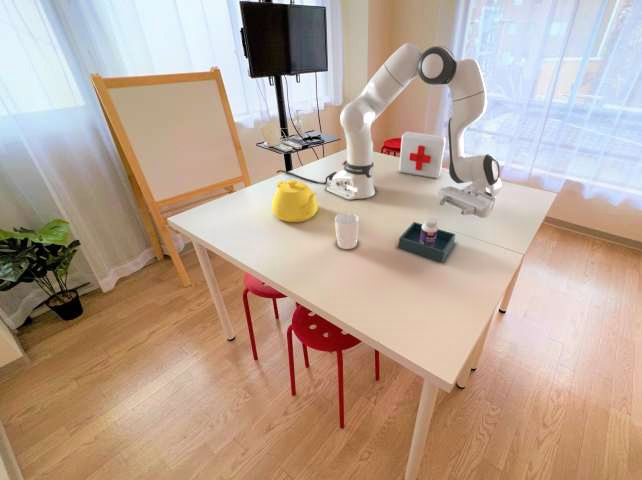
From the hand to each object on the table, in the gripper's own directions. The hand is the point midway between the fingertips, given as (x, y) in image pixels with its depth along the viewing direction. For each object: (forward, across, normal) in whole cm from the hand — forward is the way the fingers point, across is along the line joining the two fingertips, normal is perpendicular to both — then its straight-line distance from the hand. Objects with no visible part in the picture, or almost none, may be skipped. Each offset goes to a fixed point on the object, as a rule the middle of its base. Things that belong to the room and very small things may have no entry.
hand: (451, 207), depth 106 cm
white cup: (+32, -19, +11) cm, 38 cm away
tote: (+12, 0, +11) cm, 16 cm away
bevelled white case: (-37, -43, +11) cm, 58 cm away
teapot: (+33, -48, +11) cm, 59 cm away
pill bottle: (+12, 0, +10) cm, 16 cm away
